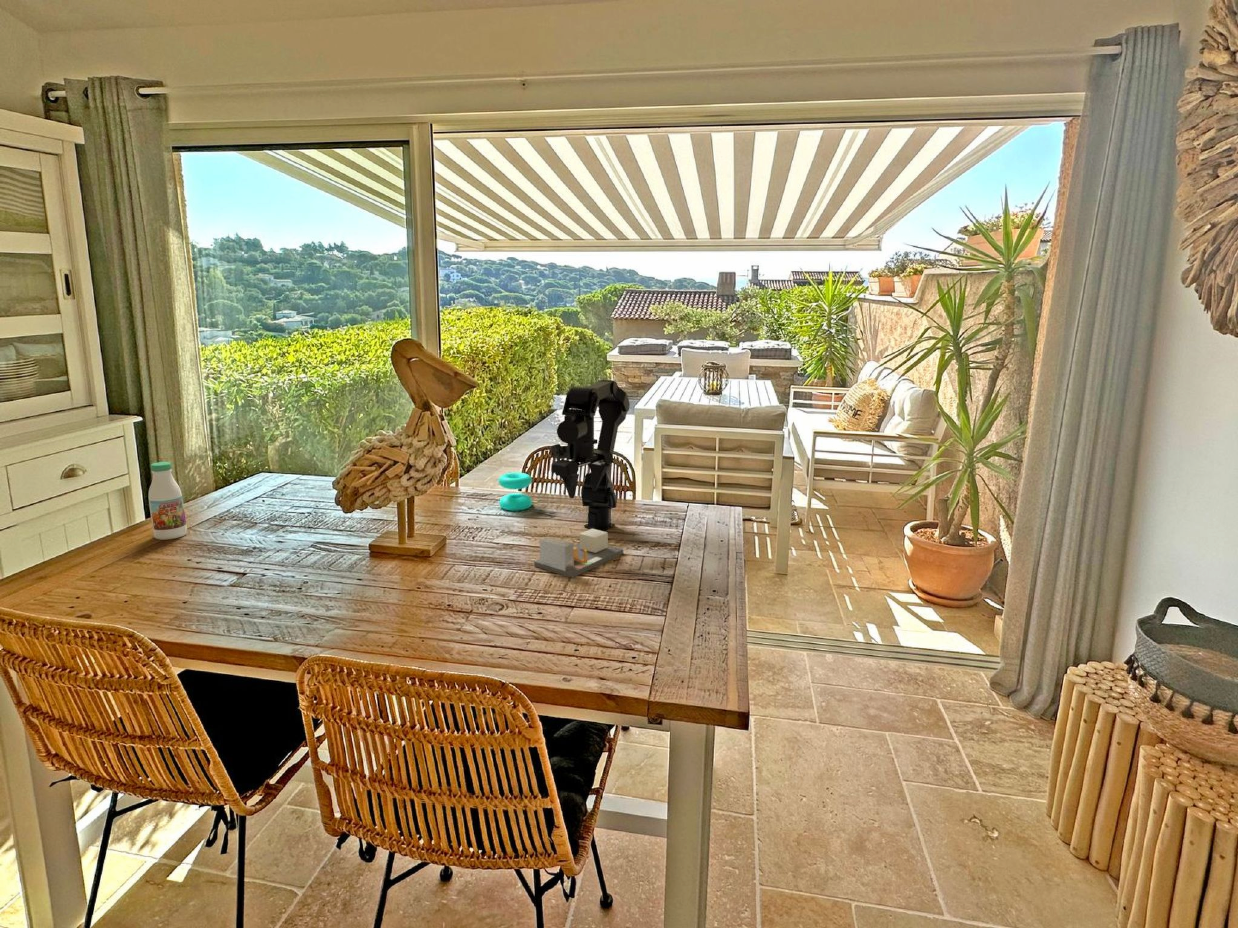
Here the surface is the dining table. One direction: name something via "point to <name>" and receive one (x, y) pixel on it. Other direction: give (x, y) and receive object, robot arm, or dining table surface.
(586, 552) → the needle rider
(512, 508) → the donuts
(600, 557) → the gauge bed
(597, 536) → the block
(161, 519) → the milk bottle
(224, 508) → the dining table surface
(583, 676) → the dining table surface
